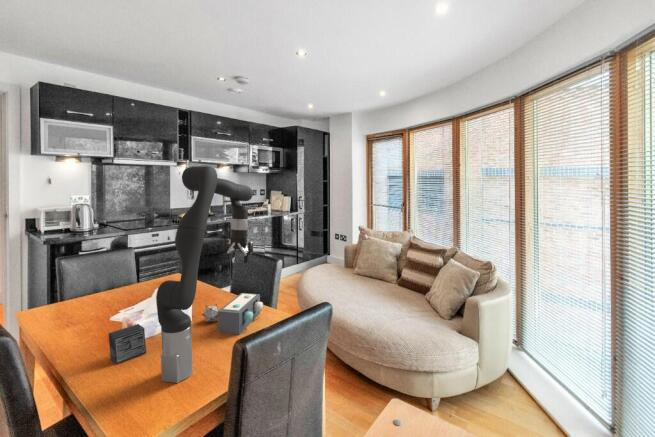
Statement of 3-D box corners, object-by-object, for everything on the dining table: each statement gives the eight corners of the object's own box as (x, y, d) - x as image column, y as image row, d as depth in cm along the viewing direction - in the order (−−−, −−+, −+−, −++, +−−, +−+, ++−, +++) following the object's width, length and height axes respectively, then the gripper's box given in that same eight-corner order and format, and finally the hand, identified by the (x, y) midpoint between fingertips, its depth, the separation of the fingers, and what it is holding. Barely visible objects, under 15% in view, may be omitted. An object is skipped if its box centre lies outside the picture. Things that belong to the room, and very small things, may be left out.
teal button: (249, 323, 142) (249, 314, 141) (243, 322, 142) (242, 313, 142) (253, 319, 146) (253, 310, 146) (247, 318, 147) (247, 309, 146)
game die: (213, 330, 151) (212, 319, 145) (198, 322, 152) (196, 311, 146) (224, 315, 158) (224, 304, 151) (210, 308, 159) (209, 297, 152)
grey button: (259, 312, 154) (259, 304, 153) (253, 312, 154) (253, 303, 154) (262, 309, 158) (262, 300, 158) (257, 308, 159) (257, 300, 158)
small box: (140, 347, 128) (138, 322, 126) (146, 353, 123) (145, 327, 122) (109, 358, 119) (107, 332, 118) (115, 365, 115) (113, 337, 114)
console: (239, 334, 139) (239, 311, 138) (218, 332, 141) (217, 309, 140) (260, 313, 163) (259, 292, 162) (241, 311, 164) (241, 291, 163)
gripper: (221, 227, 148) (220, 261, 149) (248, 230, 144) (246, 265, 145) (231, 226, 155) (229, 259, 156) (256, 229, 151) (255, 262, 152)
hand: (237, 262), depth 151 cm, fingers open, 8 cm apart
